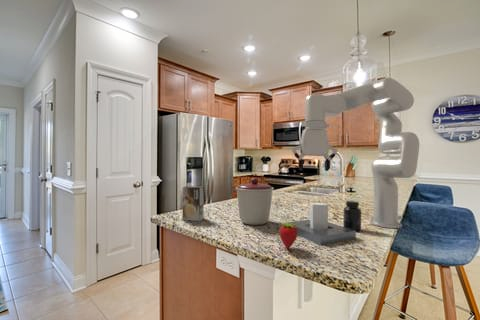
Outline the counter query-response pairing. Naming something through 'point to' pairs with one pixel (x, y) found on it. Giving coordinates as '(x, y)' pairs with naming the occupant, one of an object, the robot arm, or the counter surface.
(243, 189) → the canister
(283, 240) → the strawberry
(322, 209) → the skincare box
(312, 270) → the counter surface
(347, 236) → the housing
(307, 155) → the robot arm
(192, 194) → the coffee box
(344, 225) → the supplement bottle
